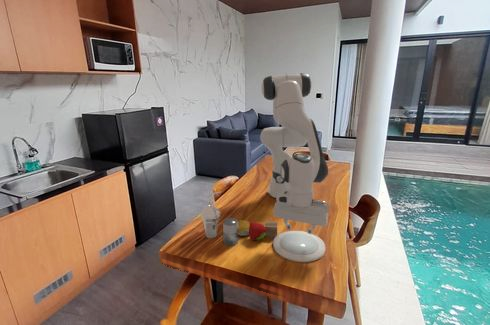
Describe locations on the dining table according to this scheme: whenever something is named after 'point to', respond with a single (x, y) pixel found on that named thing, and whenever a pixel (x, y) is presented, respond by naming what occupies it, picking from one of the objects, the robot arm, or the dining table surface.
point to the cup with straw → (210, 218)
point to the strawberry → (256, 231)
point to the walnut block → (271, 229)
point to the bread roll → (243, 228)
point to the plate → (299, 246)
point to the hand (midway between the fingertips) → (299, 231)
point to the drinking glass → (230, 231)
